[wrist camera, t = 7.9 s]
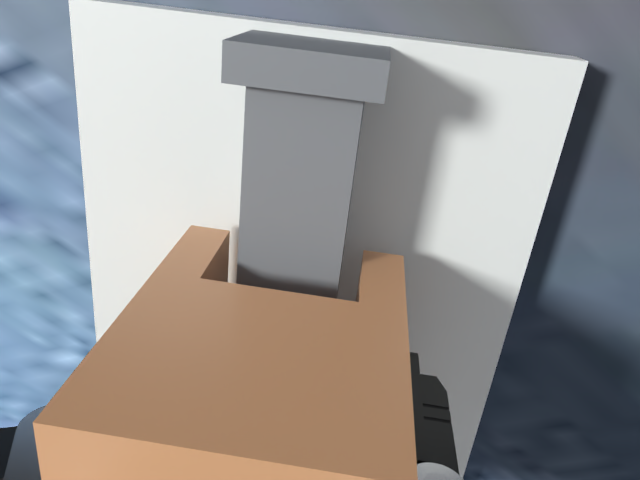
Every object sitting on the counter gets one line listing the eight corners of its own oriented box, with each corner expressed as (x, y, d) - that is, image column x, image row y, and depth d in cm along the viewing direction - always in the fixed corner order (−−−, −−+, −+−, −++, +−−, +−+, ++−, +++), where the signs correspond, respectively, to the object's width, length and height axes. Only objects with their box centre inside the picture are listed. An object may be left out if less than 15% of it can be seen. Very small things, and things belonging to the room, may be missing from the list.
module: (403, 255, 14) (419, 505, 7) (368, 436, 16) (356, 741, 10) (191, 225, 14) (19, 438, 7) (189, 406, 17) (61, 684, 10)
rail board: (575, 56, 13) (636, 79, 10) (441, 515, 20) (451, 618, 17) (89, -4, 14) (-3, 0, 11) (120, 461, 21) (70, 550, 18)
